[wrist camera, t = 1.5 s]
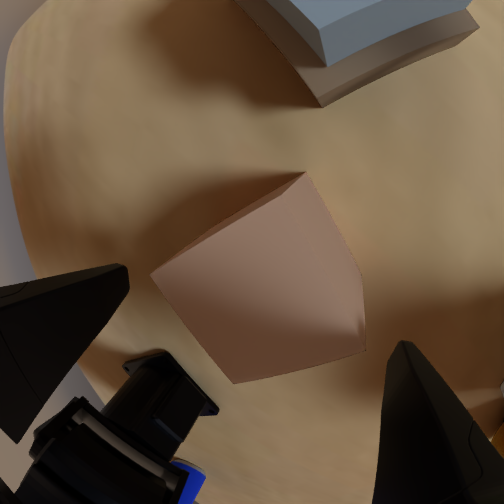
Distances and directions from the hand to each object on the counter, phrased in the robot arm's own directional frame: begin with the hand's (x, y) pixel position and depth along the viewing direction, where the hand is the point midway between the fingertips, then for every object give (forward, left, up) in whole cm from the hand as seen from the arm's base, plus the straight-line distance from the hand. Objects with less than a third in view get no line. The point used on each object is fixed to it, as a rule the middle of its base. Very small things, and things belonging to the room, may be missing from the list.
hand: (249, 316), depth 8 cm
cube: (0, 0, -5) cm, 5 cm away
